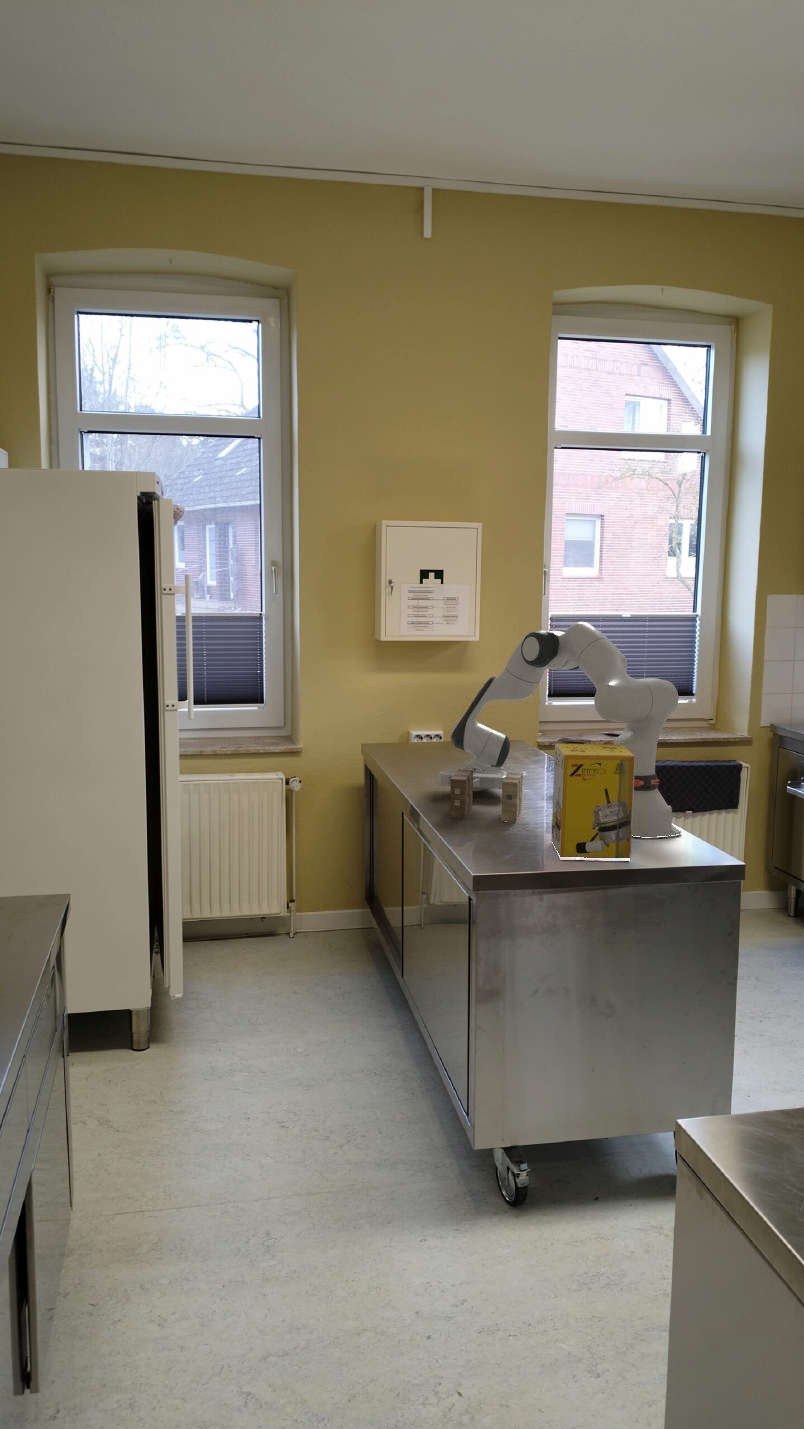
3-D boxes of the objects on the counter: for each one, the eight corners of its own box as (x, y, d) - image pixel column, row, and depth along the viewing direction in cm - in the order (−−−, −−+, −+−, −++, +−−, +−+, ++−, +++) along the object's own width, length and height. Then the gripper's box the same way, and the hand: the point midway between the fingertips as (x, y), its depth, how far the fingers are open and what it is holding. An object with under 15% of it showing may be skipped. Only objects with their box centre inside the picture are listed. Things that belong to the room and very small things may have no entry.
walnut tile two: (458, 807, 287) (459, 769, 286) (472, 808, 286) (473, 770, 285) (449, 819, 273) (450, 779, 272) (464, 820, 272) (465, 780, 271)
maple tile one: (507, 810, 284) (508, 772, 283) (521, 811, 283) (522, 773, 282) (501, 822, 270) (502, 782, 269) (515, 823, 269) (517, 783, 268)
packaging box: (630, 862, 234) (635, 756, 231) (560, 861, 234) (564, 754, 231) (617, 843, 250) (621, 744, 247) (551, 842, 250) (554, 743, 247)
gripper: (442, 763, 307) (434, 772, 293) (509, 767, 302) (504, 775, 289) (442, 784, 308) (433, 793, 294) (509, 787, 303) (503, 797, 290)
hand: (469, 784), depth 292 cm, fingers closed
